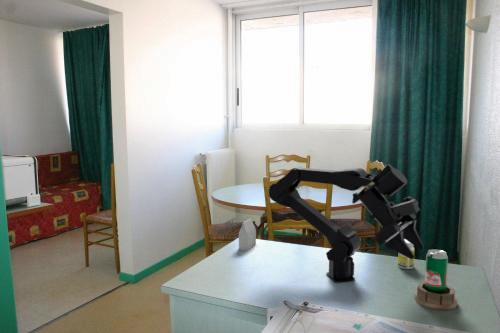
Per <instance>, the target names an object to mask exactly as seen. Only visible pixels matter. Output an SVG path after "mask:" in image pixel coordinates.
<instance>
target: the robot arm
mask: <svg viewBox="0 0 500 333" xmlns="http://www.w3.org/2000/svg"><path fill="white" fill-rule="evenodd" d="M302 182H307V183H316V184H317V183H318V184H325V185H326V184H328V185H334V186H336V187H338V188H340V189H343V190H348V191H350V192H354V193H352V200H351V203H352V204H353V205H354V204H356V203H359V202H361V203H362V205H363V206H364V207H365V208H366V209H367V211H368V212H369V213H370V214H371V215H370V218H371V220H373V221H374V220H376V222H377V223H378V224H379V225H380V226H381V228H380V229H379V231H378V232H376V233H374V240H375V242H376V243H377V244H378V246H381V245H382V246H383V247H386V248H388V249H390V250H391V251H392V250H393V251H395V252H397V253H400V254H402V255H404V256H406V257H408V258H410V259H413V258H414V259H415V257H416V256H415V253H414V254H413V253H412V251H411V250H410V248H409V247H408V245H407V244H406V242H405V240H404V239H406V240H407V241H409V242H410V243H412V244H413V247H416V248H418V249H419V250H422V249H424V248H425V246H424V244H423V242H422V240H421V238H420V236H419V233H418V231H417V229H416V225H417V219H416V218H417V216H416V215H415V214H417V213H418V212H420V207H419V201H418V200H416V198H413V197H412V196H407V197H405V198H403V202H401V203H399V204H395V202H394V201H388V200H387V198H386V196H388V197H391V196H393V195H394V194H396V192H398V191H399V190H401V189H402V188H403V187H404V186H405V185H407V184H408V179H407V178H406V176H405V175H404V173H402V171H400V170H399V169H397V168H396V167H393V166H392V165H391V164H386V166H385V167H384V168H383V169H382V170H381V171H379V173H377V174H372V173H368V172H366V170H365V169H364V168H361V167H355V168H347V169H342V170H341V169H340V170H333V169H332V170H331V169H322V168H321V169H320V168H319V169H318V168H309V167H308V168H307V167H302V166H298V167H293V168H291V169H290V170H289V171H288V172H287V174H286V175H284V176H283V177H282V178H280V179H279V180H278V181H277V182H276V183H273V184H271V185H270V186H269V188H268V197H269V199H270V200H271V201H273V202H275V203H277V204H278V205H280V206H283V207H285V208H289V209H291V210H292V211H293V212H294V213H296V214H297V215H298V216H300V217H301V218H302V219H303V220H304V221H305V222H307V223H308V224H309V225H310V226H312V227H313V228H314V229H315V230H317V231H318V232H319V233H320V234H322V235H323V236H324V237H325V238H326V240H327V241H328V244H329V246H330V247H331V249H329V250H328V251H327V252H326V253H325V254H326V259H327V260H328V271H327V272H326V273H325V274H326V276H328V278H330V279H331V280H332V281H333V282H334V283H341V282H350V281H356V278H355V276H354V275H355V262H354V258H353V257H352V256H354V254H355V253H356V252H357V251H358V250H359V249H360V248H361V244H362V242H361V238H360V236H359V234H358V232H357V231H356V230H353V229H352V228H351V227H350V226H349V225H348V224H347V223H345V224H344V225H341V226H339V225H336V224H335V223H334V222H333V221H331V220H330V219H329V218H328V217H327V216H325V215H324V214H322V213H321V212H320V211H319V210H317V209H316V208H315V207H314V206H312V205H311V204H310V203H308V202H307V201H306V200H305V199H304V198H302V197H301V195H300V192H299V190H298V189H297V188H298V187H299V186H300V184H301V183H302ZM369 185H371V186H370V187H367V186H369ZM362 188H363V189H362ZM359 189H361V190H360V191H359V192H355V191H357V190H359Z"/></svg>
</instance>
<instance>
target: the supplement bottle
mask: <svg viewBox="0 0 500 333" xmlns="http://www.w3.org/2000/svg"><path fill="white" fill-rule="evenodd" d="M403 239H404V238H403ZM404 240H405V242H406V244H407V245H408V247H409V248H410V250H411V251H412V253H413V254H414V255H415V246H414V245H413V244H412V243H410V242H409V241H407V240H406V239H404ZM397 253H398V252H397ZM397 266H398V267H399V268H401V269H404V270H406V269H407V270H410V269H413V268H414V267H415V257H414V258H413V259H410V258H408V257H406V256H404V255H402V254H400V253H398V255H397Z"/></svg>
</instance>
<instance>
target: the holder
mask: <svg viewBox="0 0 500 333" xmlns="http://www.w3.org/2000/svg"><path fill="white" fill-rule="evenodd" d="M455 294H456V290H455V288H453V287H452V286H450V285H448V284H447V283H446V294H436V293H432V292H428V291H426V290H425V281H421V282H419V283H418V285H417V291H415V293H414V301H415V302H416V303H417V304H419V305H420V306H422V307H424V308H428V309H430V310H431V309H432V310H434V311H451V310H455V309H456V308H457V306H458V299H457V298H456V297H455Z"/></svg>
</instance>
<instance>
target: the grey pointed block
mask: <svg viewBox="0 0 500 333" xmlns="http://www.w3.org/2000/svg"><path fill="white" fill-rule="evenodd" d="M253 222H254V221H253V218H249V219H247V220H245V221H243V222H241V223H242V224H241V227H240V230H239V232H238V250H242V251H249V250H251V249H252V248H253V247H255V246H257V229H256V226H255V224H254V223H253Z"/></svg>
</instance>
